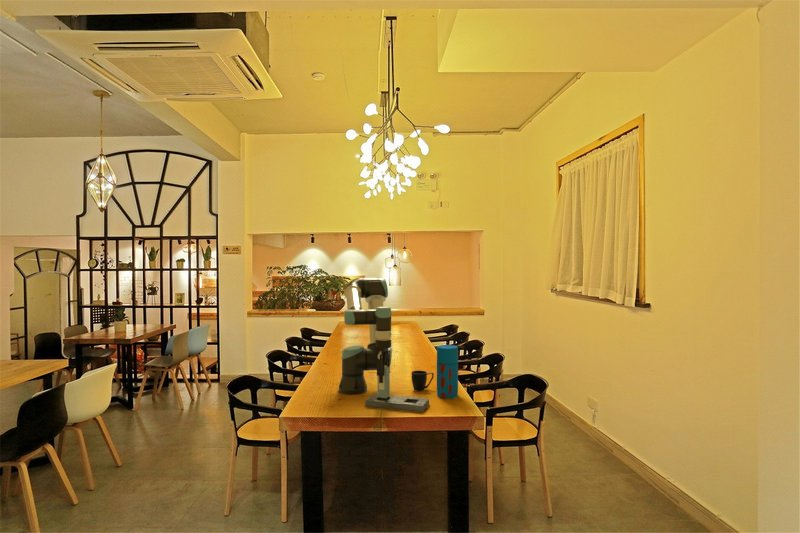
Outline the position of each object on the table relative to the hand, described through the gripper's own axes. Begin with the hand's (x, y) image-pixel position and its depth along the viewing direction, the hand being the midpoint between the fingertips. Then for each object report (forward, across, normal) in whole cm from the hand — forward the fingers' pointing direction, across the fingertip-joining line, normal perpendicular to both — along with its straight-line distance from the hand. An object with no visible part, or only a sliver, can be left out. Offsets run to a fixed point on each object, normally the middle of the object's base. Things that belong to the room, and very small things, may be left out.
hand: (383, 387), depth 216 cm
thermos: (+8, +24, -26) cm, 36 cm away
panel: (+8, 0, -7) cm, 11 cm away
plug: (+4, 0, 0) cm, 4 cm away
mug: (+8, +31, -11) cm, 34 cm away
